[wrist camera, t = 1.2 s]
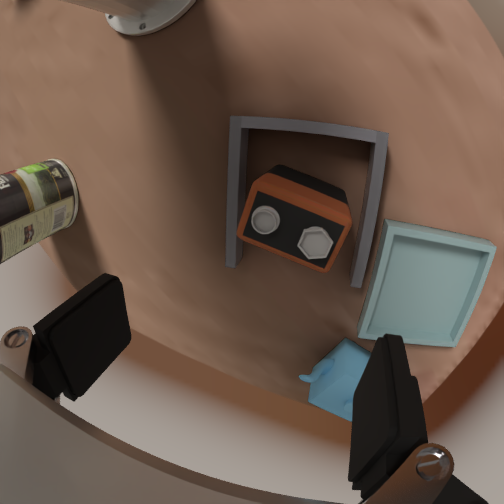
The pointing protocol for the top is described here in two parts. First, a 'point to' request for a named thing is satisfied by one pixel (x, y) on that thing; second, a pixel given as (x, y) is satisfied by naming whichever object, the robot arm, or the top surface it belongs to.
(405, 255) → the tray
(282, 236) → the battery
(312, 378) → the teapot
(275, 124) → the frame
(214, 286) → the top surface
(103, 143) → the top surface
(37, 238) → the coffee can
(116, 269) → the top surface
